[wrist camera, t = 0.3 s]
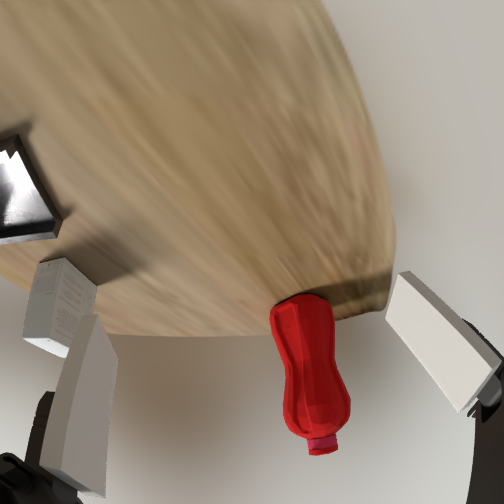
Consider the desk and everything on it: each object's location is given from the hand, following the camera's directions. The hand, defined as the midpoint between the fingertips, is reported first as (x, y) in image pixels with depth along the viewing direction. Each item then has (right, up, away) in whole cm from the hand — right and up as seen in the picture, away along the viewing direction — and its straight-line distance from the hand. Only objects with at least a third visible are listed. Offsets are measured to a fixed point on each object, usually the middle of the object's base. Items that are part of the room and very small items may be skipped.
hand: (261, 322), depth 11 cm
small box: (-25, 0, +21) cm, 33 cm away
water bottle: (+8, -6, +36) cm, 37 cm away
